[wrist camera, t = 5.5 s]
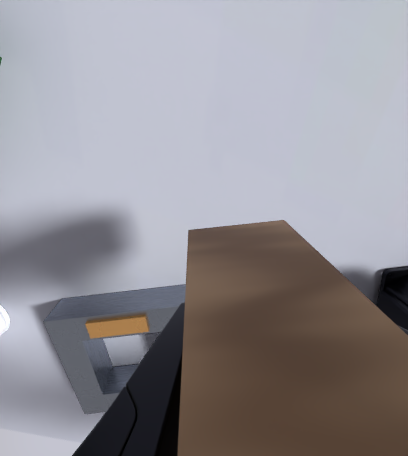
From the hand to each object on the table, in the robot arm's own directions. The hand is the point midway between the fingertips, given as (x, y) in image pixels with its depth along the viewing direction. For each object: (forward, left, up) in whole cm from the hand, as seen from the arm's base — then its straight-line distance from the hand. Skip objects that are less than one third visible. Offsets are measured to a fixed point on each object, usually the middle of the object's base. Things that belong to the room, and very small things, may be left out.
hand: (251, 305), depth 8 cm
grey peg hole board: (+5, +13, -12) cm, 19 cm away
